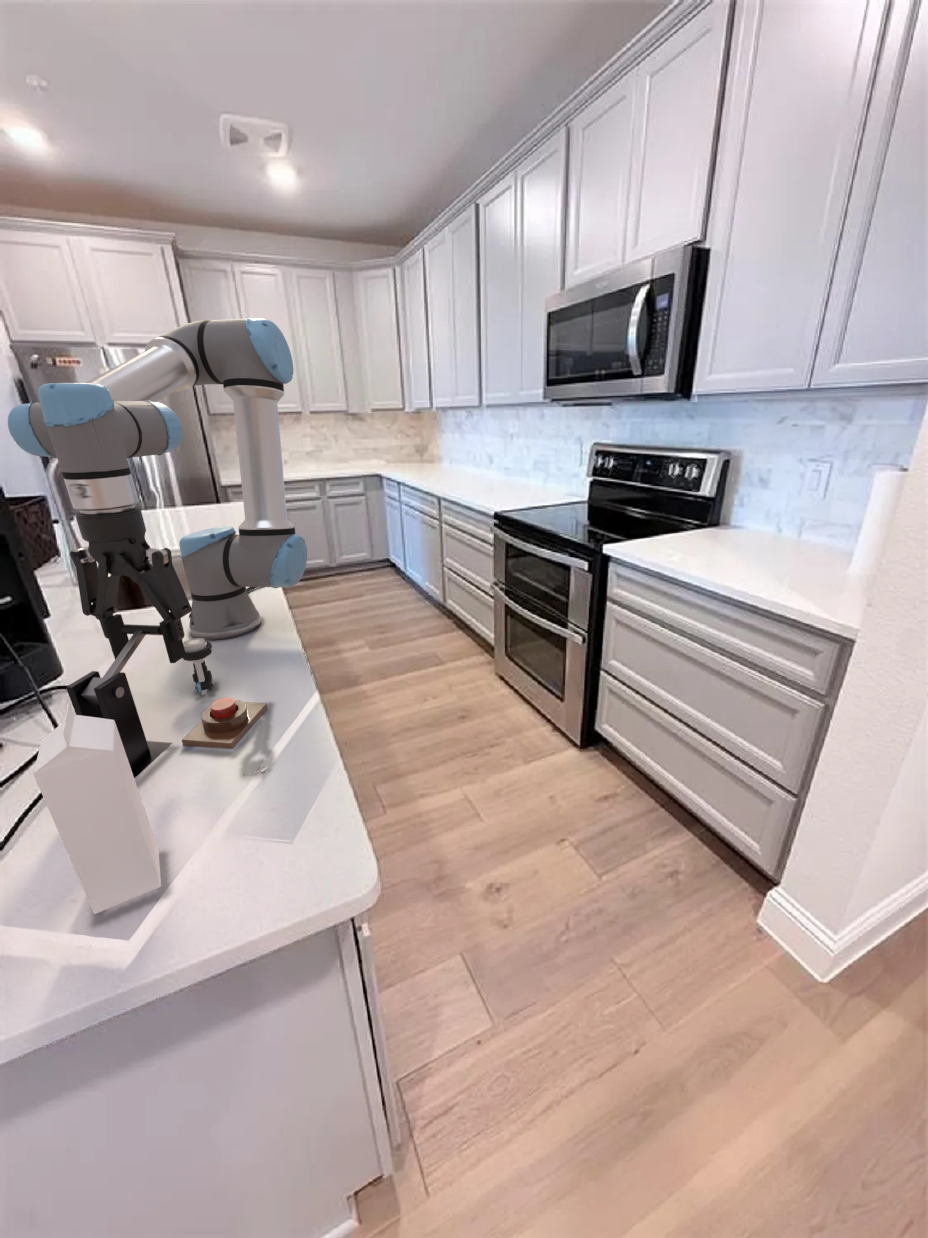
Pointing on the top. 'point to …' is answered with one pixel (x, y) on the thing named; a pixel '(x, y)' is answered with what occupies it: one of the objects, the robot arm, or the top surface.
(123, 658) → the switch lever
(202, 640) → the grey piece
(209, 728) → the button block
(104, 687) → the switch bracket
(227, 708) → the button
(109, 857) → the milk
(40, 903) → the top surface
